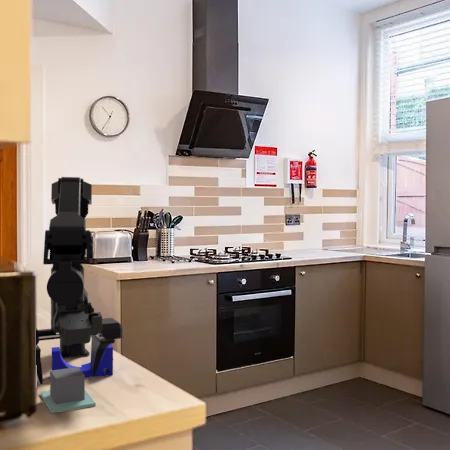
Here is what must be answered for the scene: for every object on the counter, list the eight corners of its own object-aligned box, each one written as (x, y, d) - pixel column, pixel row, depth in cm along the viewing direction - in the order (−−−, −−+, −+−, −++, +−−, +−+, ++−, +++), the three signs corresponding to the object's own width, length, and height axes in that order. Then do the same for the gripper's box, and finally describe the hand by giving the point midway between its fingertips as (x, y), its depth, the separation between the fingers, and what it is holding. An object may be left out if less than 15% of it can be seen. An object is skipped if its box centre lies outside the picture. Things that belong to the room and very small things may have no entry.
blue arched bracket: (110, 369, 118) (110, 341, 118) (112, 376, 114) (113, 347, 113) (51, 374, 114) (51, 345, 114) (51, 381, 110) (51, 351, 110)
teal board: (40, 394, 102) (40, 391, 102) (81, 388, 106) (81, 385, 106) (51, 413, 93) (51, 410, 93) (95, 405, 97) (95, 403, 97)
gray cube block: (50, 394, 100) (50, 370, 100) (77, 390, 103) (77, 367, 102) (55, 404, 96) (55, 378, 96) (84, 399, 98) (84, 374, 98)
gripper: (18, 306, 87) (18, 403, 88) (132, 297, 96) (131, 386, 96) (9, 294, 97) (9, 382, 97) (113, 288, 106) (113, 368, 106)
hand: (67, 379), depth 99 cm, fingers open, 9 cm apart
